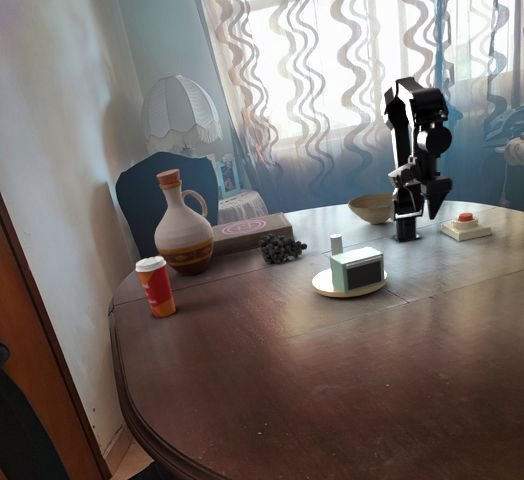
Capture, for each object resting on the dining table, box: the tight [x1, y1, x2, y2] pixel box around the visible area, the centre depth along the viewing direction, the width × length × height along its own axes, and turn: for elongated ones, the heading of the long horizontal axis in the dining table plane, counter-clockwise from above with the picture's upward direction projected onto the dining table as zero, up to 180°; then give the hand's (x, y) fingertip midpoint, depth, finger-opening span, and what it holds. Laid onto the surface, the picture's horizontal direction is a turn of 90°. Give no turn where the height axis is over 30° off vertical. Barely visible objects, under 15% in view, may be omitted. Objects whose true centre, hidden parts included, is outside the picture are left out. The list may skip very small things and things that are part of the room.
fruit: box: [256, 234, 308, 265], centre depth 138 cm, size 9×8×15 cm
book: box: [210, 212, 295, 258], centre depth 165 cm, size 30×22×5 cm
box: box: [441, 215, 492, 242], centre depth 132 cm, size 11×9×4 cm
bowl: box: [347, 192, 393, 225], centre depth 156 cm, size 18×18×8 cm
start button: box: [458, 212, 474, 222], centre depth 131 cm, size 4×4×2 cm
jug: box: [154, 168, 213, 276], centre depth 140 cm, size 20×18×30 cm
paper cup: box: [135, 255, 176, 318], centre depth 116 cm, size 8×8×14 cm
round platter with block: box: [311, 233, 388, 298], centre depth 110 cm, size 18×19×10 cm
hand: (424, 215), depth 117 cm, fingers open, 9 cm apart
